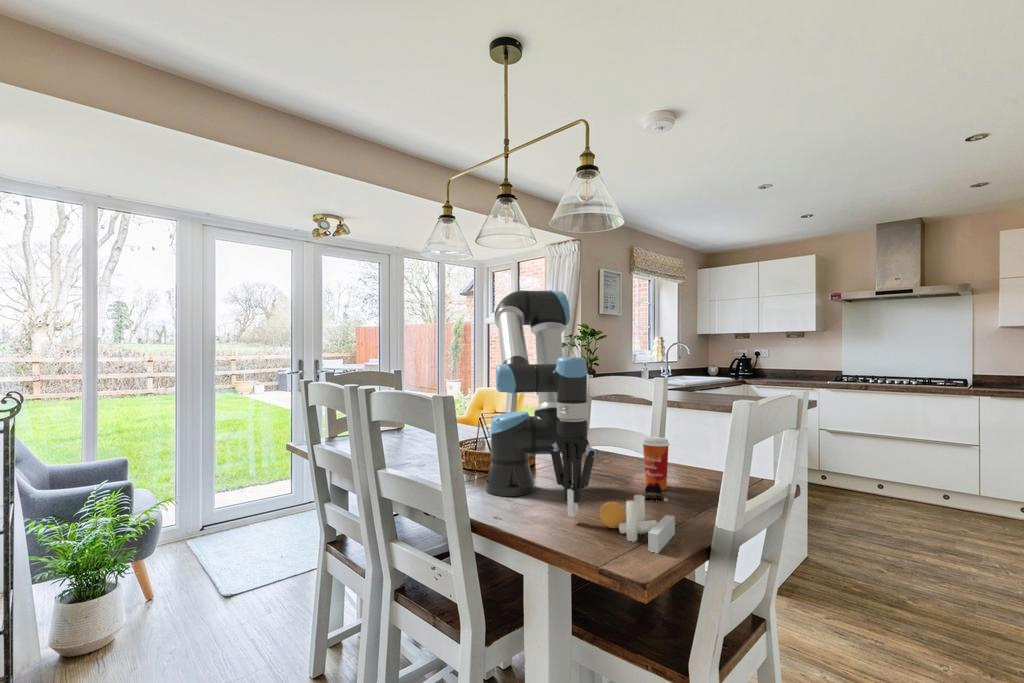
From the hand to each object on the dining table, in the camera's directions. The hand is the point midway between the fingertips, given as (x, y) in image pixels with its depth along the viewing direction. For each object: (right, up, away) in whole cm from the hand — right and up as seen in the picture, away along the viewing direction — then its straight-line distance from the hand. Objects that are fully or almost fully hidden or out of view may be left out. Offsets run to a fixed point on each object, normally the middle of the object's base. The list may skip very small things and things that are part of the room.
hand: (572, 514), depth 118 cm
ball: (+9, +1, -3) cm, 10 cm away
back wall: (+18, -2, -12) cm, 22 cm away
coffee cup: (+30, -3, +30) cm, 42 cm away
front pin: (+10, -1, -7) cm, 13 cm away
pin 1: (+12, -2, -11) cm, 16 cm away
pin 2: (+15, -2, -7) cm, 16 cm away
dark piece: (+25, -3, +19) cm, 32 cm away
